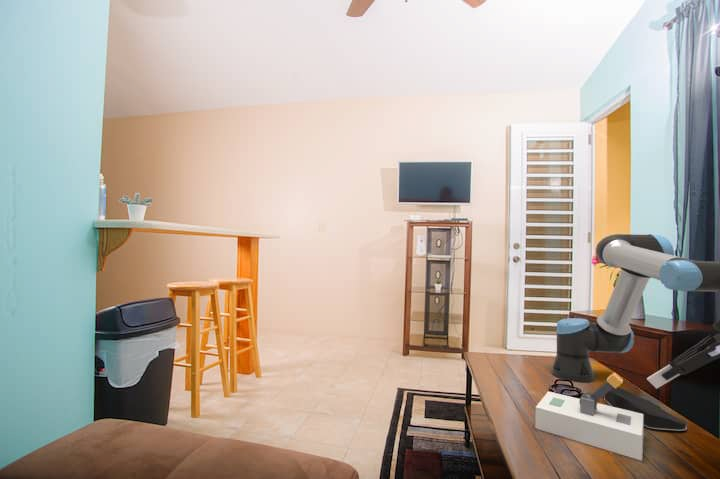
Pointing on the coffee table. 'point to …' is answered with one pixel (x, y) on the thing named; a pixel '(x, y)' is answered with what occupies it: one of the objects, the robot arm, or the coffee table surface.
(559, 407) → the switch housing
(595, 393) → the lever
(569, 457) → the coffee table surface
